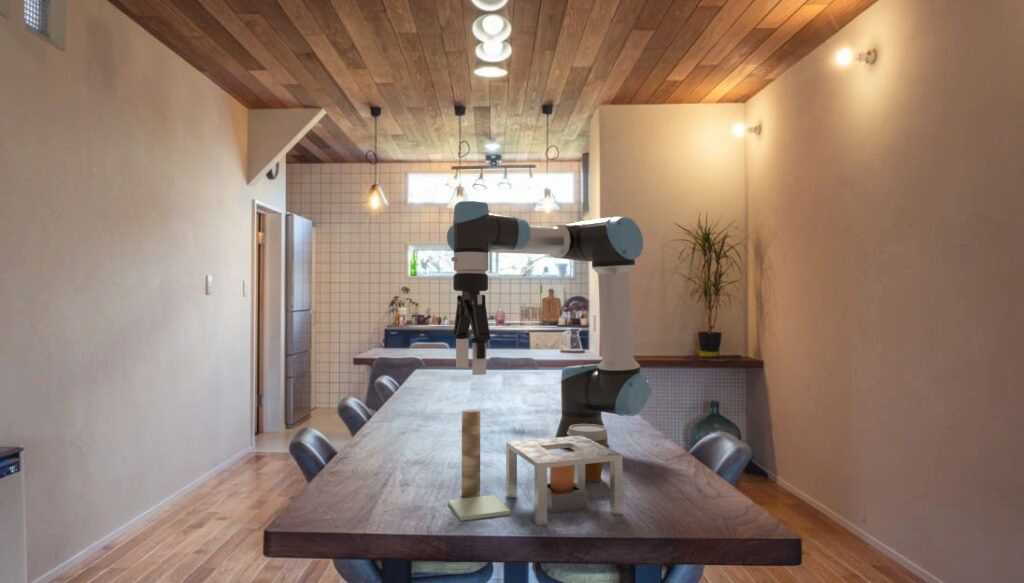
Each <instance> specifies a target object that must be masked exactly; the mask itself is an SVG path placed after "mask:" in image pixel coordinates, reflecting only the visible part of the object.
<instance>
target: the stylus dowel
mask: <svg viewBox="0 0 1024 583" xmlns="http://www.w3.org/2000/svg"><path fill="white" fill-rule="evenodd" d="M461 496H462V498H470V497H479V496H481V410H479V409H464V410H461Z"/></svg>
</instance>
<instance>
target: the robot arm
mask: <svg viewBox="0 0 1024 583" xmlns="http://www.w3.org/2000/svg"><path fill="white" fill-rule="evenodd" d="M453 208H454V210H453V221H452V224H451V225H450V227H449V228H448V230H447V233H446V243H447V244H448V247H449V248H450V249H451V250H452V251H453V256H452V257H451V259H450V260H451V262H453V271H454V272H456V273H454V275H453V278H452V280H453V290H454V291H455V292H461V294H460V295H457V297H456V298H457V300H456V301H457V302H456V310H455V311H456V312H455V319H454V325H453V326H454V327H453V336H455V367H456V369H464V368H465V369H468V368H469V340H470V338H471V336H470V334H469V331H470V328H471V332H472V336H473V338H471V340H470V343H471V344H472V368H471V369H472V372H471V374H472V376H481V375H482V376H483V375H484V376H485V375H487V343H488V341H490V339H491V335H490V326H489V320H488V313H487V306H486V295H485V294H480V292H487V291H488V289H489V275H488V274H487V273H486V272H488V271H489V253H498V254H499V253H501V254H502V253H503V254H504V253H505V254H524V255H525V254H526V255H527V254H529V255H531V254H532V255H549V256H550V257H551V258H554V259H561V260H562V259H564V260H571V261H578V262H591V268H592V269H593V270H594V272H596V273H597V276H598V277H597V279H598V281H597V282H598V298H599V317H600V320H599V321H600V338H601V339H600V340H601V358H602V359H601V361H600V362H599V363H592V364H591V363H590V364H580V365H570V366H566V367H564V368H562V371H561V380H560V386H561V388H560V392H561V395H560V397H561V398H560V400H561V402H560V404H561V417H560V421H559V423H558V427H557V429H556V432H555V438H557V437H568V434H567V432H568V430H569V427H570V426H571V425H576V424H595V425H600V426H604V427H605V425H604V422H603V418H602V412H603V413H608V414H613V415H617V416H621V417H623V416H625V417H634V416H635V417H636V416H637V415H639V414H640V413H642V411H643V410H644V409H645V407H646V405H647V403H648V401H649V398H650V395H651V394H650V393H651V384H650V380H649V379H648V377H647V376H646V375H645V374H643V373H641V365H640V364H639V363H638V362H637V361H636V360H635V356H634V334H633V315H632V314H633V313H632V310H633V309H632V296H631V295H632V293H631V272H632V270H633V269H634V267H635V266H636V259H637V258H639V257H640V256H641V254H642V251H643V250H644V237H643V232H642V231H641V229H640V227H639V225H638V224H637V223H636V222H635V220H633V218H630V217H629V216H611V217H610V216H609V217H604V218H597V219H591V220H582V221H578V222H573V223H565V224H563V223H556V224H552V226H540V225H538V226H537V225H530V224H529V223H528V221H527V220H526V219H524V218H522V217H517V216H515V215H514V216H509V215H504V214H503V215H501V214H495V213H490V210H489V205H488V203H487V202H484V201H480V200H463V201H458V202H457V203H456V204H455V205H454V207H453ZM607 446H608V436H607V437H606V440H605V447H607ZM568 449H570V448H568ZM570 450H571V449H570Z"/></svg>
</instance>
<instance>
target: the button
mask: <svg viewBox="0 0 1024 583" xmlns="http://www.w3.org/2000/svg"><path fill="white" fill-rule="evenodd" d="M549 471H550V473H549V478H550V479H549V480H550V481H549V482H550V489H551V490H552V491H553V492H556V493H557V492H565V491H573V490H574V465H570V466H560V467H550V468H549Z"/></svg>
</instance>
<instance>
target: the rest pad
mask: <svg viewBox="0 0 1024 583" xmlns="http://www.w3.org/2000/svg"><path fill="white" fill-rule="evenodd" d="M447 504H448V506H450V508H451V510H452V511H453V512H454V513H455V515H456V516H457V518H458V519H459V521H461V522H462V521H470V520H478V519H485V518H486V519H487V518H493V517H500V516H501V517H503V516H509V515H511V509H509V508H508V507H507V505H506V504H505V503H503V501H502V500H500V498H498V497H497V496H496V495H495V494H491V495H490V494H489V495H480V496H478V497H470V498H466V497H462V498H455V499H448V501H447Z"/></svg>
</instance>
